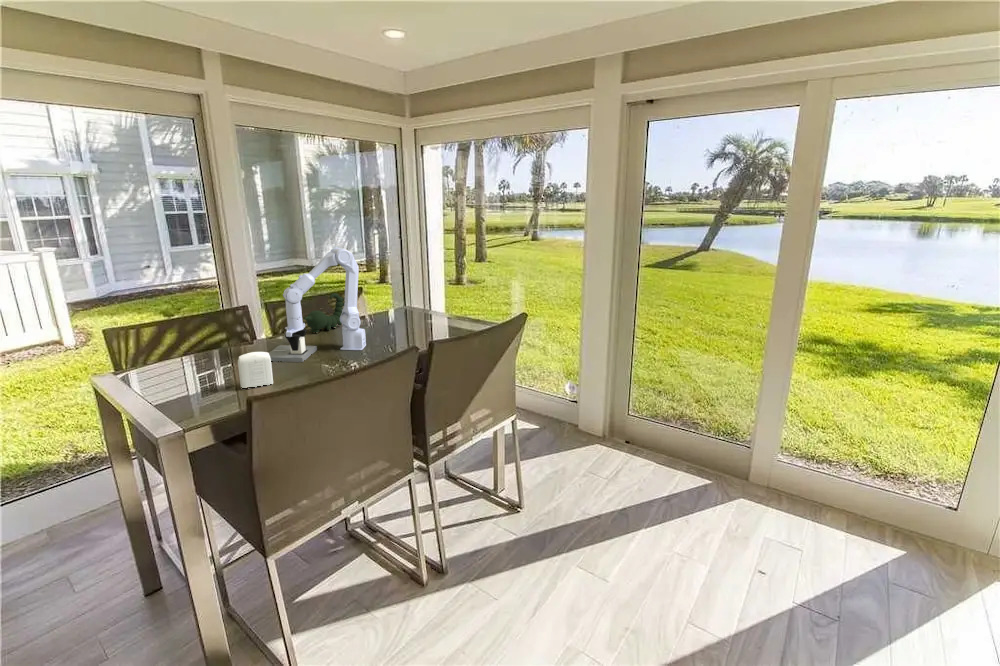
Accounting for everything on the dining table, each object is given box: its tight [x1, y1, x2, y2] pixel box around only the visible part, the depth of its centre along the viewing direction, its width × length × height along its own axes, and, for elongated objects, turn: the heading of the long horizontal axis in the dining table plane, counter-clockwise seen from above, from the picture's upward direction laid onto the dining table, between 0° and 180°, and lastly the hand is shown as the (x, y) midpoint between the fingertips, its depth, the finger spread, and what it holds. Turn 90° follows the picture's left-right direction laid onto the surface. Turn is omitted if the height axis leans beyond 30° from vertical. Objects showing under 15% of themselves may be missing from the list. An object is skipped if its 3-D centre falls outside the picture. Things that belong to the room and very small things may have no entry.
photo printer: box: [237, 351, 274, 389], centre depth 161 cm, size 10×4×12 cm, turn 123°
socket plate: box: [268, 344, 318, 363], centre depth 194 cm, size 16×16×2 cm
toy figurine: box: [303, 292, 345, 333], centre depth 230 cm, size 9×19×25 cm
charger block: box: [290, 337, 306, 355], centre depth 192 cm, size 4×4×7 cm
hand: (297, 348), depth 193 cm, fingers closed on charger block, 4 cm apart
